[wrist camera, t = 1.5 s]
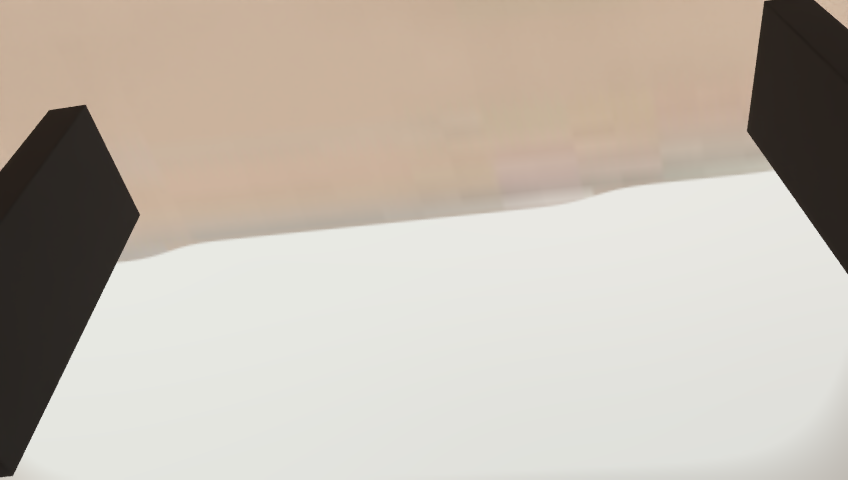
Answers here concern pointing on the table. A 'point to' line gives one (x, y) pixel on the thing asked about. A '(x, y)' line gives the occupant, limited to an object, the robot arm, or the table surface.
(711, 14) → the table surface
